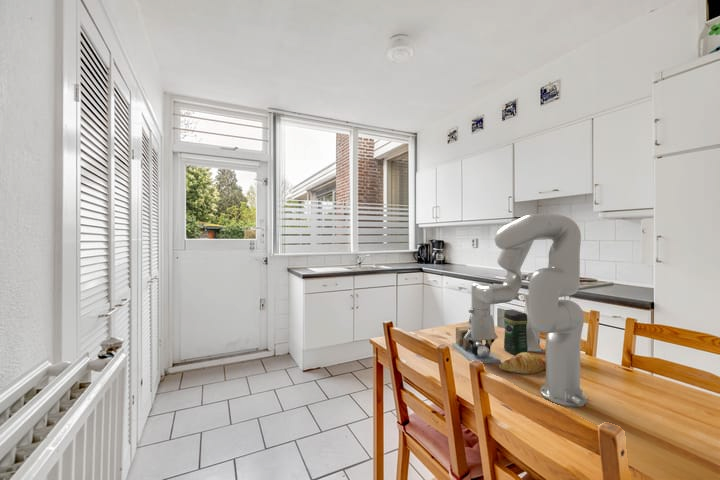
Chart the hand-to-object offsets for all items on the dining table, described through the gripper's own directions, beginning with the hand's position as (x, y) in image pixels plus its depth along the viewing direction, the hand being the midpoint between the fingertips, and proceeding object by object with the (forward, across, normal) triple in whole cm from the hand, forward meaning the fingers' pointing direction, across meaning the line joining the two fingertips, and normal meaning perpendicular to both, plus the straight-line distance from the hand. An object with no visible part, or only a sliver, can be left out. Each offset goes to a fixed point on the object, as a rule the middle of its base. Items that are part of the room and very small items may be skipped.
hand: (481, 353), depth 137 cm
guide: (+1, 0, +8) cm, 8 cm away
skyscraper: (+2, +28, +6) cm, 29 cm away
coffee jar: (+2, +19, +6) cm, 20 cm away
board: (+2, 0, +6) cm, 6 cm away
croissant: (+2, +12, -12) cm, 17 cm away
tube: (+1, 0, +4) cm, 4 cm away
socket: (+1, 0, +15) cm, 15 cm away
